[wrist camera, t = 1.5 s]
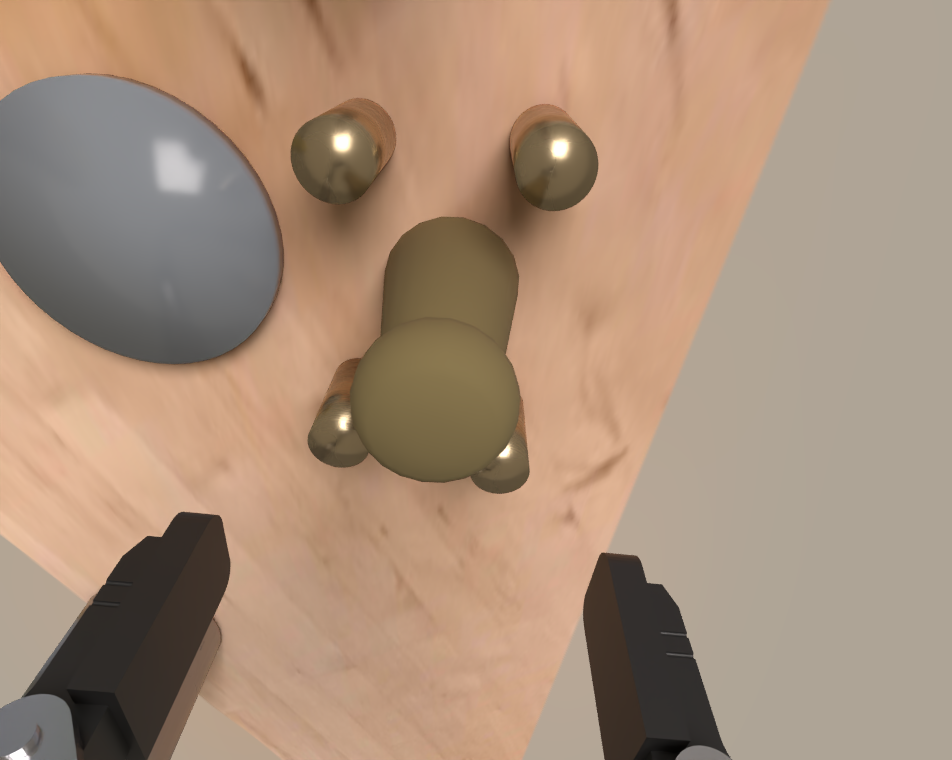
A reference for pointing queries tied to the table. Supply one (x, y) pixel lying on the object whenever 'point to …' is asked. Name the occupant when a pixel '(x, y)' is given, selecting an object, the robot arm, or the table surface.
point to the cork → (441, 355)
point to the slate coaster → (134, 219)
